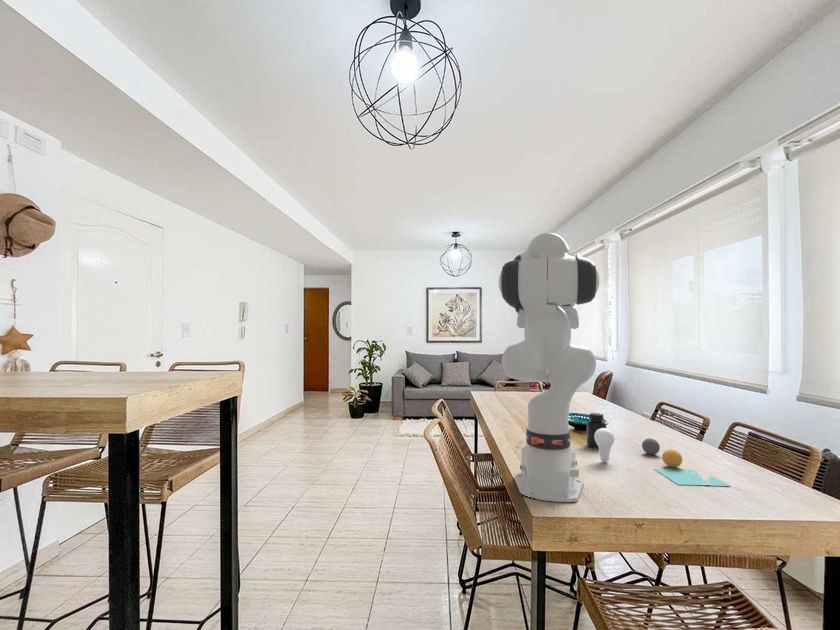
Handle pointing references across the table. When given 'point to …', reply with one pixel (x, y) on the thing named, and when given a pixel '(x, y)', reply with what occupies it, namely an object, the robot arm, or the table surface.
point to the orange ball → (672, 458)
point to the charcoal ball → (650, 446)
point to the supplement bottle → (594, 428)
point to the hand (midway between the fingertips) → (547, 341)
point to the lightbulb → (604, 442)
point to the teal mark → (689, 477)
